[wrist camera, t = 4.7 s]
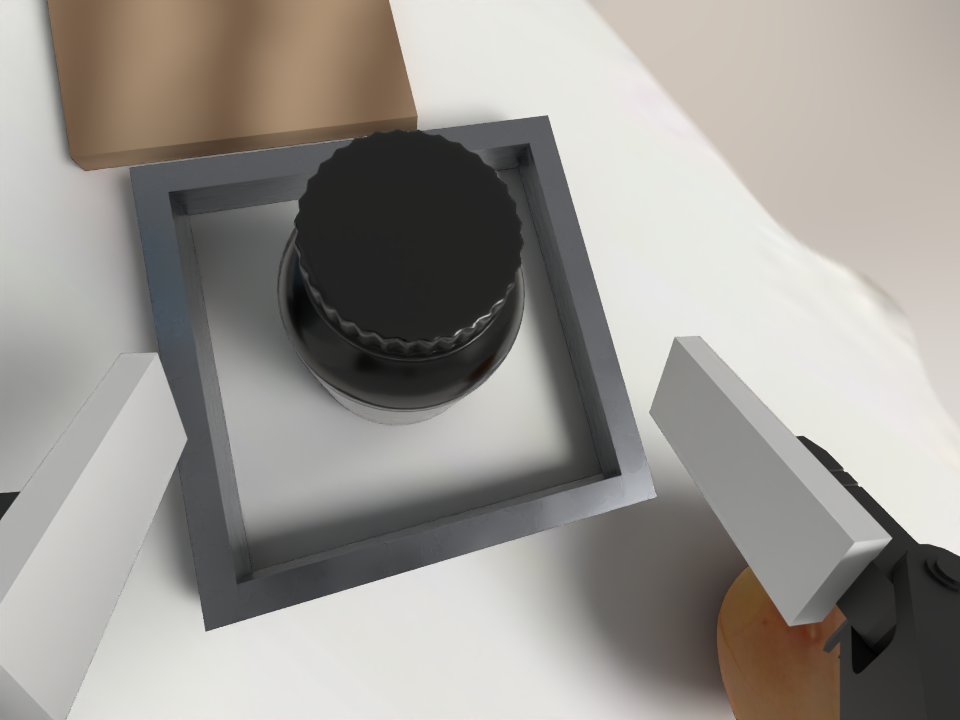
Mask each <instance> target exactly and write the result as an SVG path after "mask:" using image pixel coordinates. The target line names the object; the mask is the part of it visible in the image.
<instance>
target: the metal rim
mask: <svg viewBox="0 0 960 720" xmlns="http://www.w3.org/2000/svg"><path fill="white" fill-rule="evenodd" d="M423 132H425V133H427V134H429V135H434V134H439V135H441V136H443V137H445V138H446V139H447V140H449V141H452V142H459V143H461V144H462V145H463V146H464V147H465V148H466V149H467V150H468V151H471V152H474V153H477V154H478V155H479V156H480V157H481V159H482V160H483V162H484V163H485V164H487V165H489V166H491V167H492V168H494V170H495V171H497V170H504V169H511V168H518V167H519V170H520V174H521V177H522V181H523V185H524V188H525V192H526V196H527V199H528V203H529V207H530V210H531V214H532V218H533V221H534V225H535V228H536V232H537V236H538V239H539V243H540V247H541V250H542V254H543V258H544V261H545V265H546V269H547V272H548V276H549V280H550V283H551V287H552V291H553V294H554V298H555V302H556V305H557V309H558V312H559V316H560V320H561V323H562V327H563V331H564V334H565V338H566V342H567V345H568V349H569V353H570V356H571V360H572V364H573V367H574V371H575V375H576V378H577V382H578V386H579V389H580V393H581V396H582V400H583V404H584V407H585V411H586V415H587V418H588V422H589V426H590V429H591V433H592V437H593V440H594V444H595V448H596V451H597V455H598V459H599V462H600V466H601V470H602V473H601V474H597V475H594V476H590V477H587V478H583V479H580V480H576V481H572V482H569V483H565V484H562V485H558V486H555V487H551V488H548V489H544V490H540V491H537V492H533V493H530V494H526V495H523V496H519V497H516V498H512V499H508V500H505V501H501V502H498V503H494V504H491V505H487V506H484V507H480V508H476V509H473V510H469V511H466V512H462V513H459V514H455V515H452V516H448V517H444V518H441V519H437V520H434V521H430V522H427V523H423V524H420V525H416V526H412V527H409V528H405V529H402V530H398V531H395V532H391V533H388V534H384V535H380V536H377V537H373V538H370V539H366V540H363V541H359V542H356V543H352V544H348V545H345V546H341V547H338V548H334V549H331V550H327V551H323V552H320V553H316V554H313V555H309V556H306V557H302V558H299V559H295V560H291V561H288V562H284V563H281V564H277V565H274V566H270V567H267V568H263V569H259V570H256V571H252V568H251V562H250V557H249V551H248V545H247V540H246V534H245V529H244V523H243V517H242V512H241V506H240V501H239V495H238V489H237V484H236V478H235V473H234V467H233V461H232V456H231V450H230V445H229V439H228V433H227V428H226V422H225V417H224V411H223V405H222V400H221V394H220V389H219V383H218V377H217V372H216V366H215V361H214V355H213V349H212V344H211V338H210V333H209V327H208V321H207V316H206V310H205V305H204V299H203V293H202V288H201V282H200V277H199V271H198V265H197V260H196V254H195V249H194V243H193V237H192V232H191V226H190V221H189V215H194V214H201V213H207V212H214V211H221V210H228V209H235V208H242V207H249V206H256V205H263V204H270V203H276V202H283V201H290V200H297V199H300V197H301V196H302V195H303V194H304V193H305V192H306V189H307V181H308V179H310V178H311V177H312V176H314V175H315V174H316V173H317V171H318V168H319V165H320V163H322V162H323V161H325V160H327V159H329V158H331V157H332V155H333V153H334V152H335V150H336V149H338V148H341V147H345V146H348V145H349V144H350V142H351V141H352V140H347V141H339V142H331V143H323V144H315V145H307V146H299V147H291V148H283V149H275V150H267V151H259V152H251V153H243V154H235V155H227V156H219V157H211V158H203V159H195V160H187V161H179V162H171V163H163V164H155V165H147V166H139V167H131V168H130V174H131V181H132V187H133V193H134V199H135V205H136V211H137V217H138V223H139V229H140V235H141V241H142V247H143V254H144V260H145V266H146V272H147V278H148V284H149V290H150V296H151V302H152V308H153V314H154V320H155V327H156V333H157V339H158V345H159V351H160V357H161V363H162V367H163V370H164V373H165V376H166V379H167V381H168V384H169V387H170V390H171V393H172V396H173V399H174V402H175V404H176V407H177V410H178V413H179V416H180V419H181V422H182V425H183V427H184V430H185V433H186V436H187V442H186V444H185V446H184V449H183V451H182V453H181V455H180V458H179V460H178V467H179V473H180V479H181V485H182V491H183V497H184V503H185V509H186V515H187V521H188V527H189V533H190V540H191V546H192V552H193V558H194V564H195V570H196V576H197V582H198V588H199V594H200V600H201V606H202V613H203V619H204V625H205V631H209V630H212V629H216V628H219V627H223V626H226V625H229V624H233V623H236V622H239V621H243V620H246V619H249V618H253V617H256V616H259V615H263V614H266V613H269V612H273V611H276V610H280V609H283V608H286V607H290V606H293V605H296V604H300V603H303V602H306V601H310V600H313V599H316V598H320V597H323V596H326V595H330V594H333V593H337V592H340V591H343V590H347V589H350V588H353V587H357V586H360V585H363V584H367V583H370V582H373V581H377V580H380V579H383V578H387V577H390V576H393V575H397V574H400V573H404V572H407V571H410V570H414V569H417V568H420V567H424V566H427V565H430V564H434V563H437V562H440V561H444V560H447V559H450V558H454V557H457V556H461V555H464V554H467V553H471V552H474V551H477V550H481V549H484V548H487V547H491V546H494V545H497V544H501V543H504V542H507V541H511V540H514V539H518V538H521V537H524V536H528V535H531V534H534V533H538V532H541V531H544V530H548V529H551V528H554V527H558V526H561V525H564V524H568V523H571V522H575V521H578V520H581V519H585V518H588V517H591V516H595V515H598V514H601V513H605V512H608V511H611V510H615V509H618V508H621V507H625V506H628V505H632V504H635V503H638V502H642V501H645V500H648V499H652V498H655V497H657V495H656V492H655V488H654V485H653V481H652V478H651V474H650V471H649V467H648V464H647V460H646V457H645V453H644V450H643V446H642V443H641V439H640V436H639V432H638V429H637V425H636V422H635V418H634V415H633V411H632V408H631V404H630V401H629V397H628V394H627V390H626V387H625V383H624V380H623V376H622V373H621V369H620V366H619V362H618V359H617V355H616V352H615V348H614V345H613V341H612V338H611V334H610V331H609V327H608V324H607V320H606V317H605V313H604V310H603V307H602V303H601V300H600V296H599V293H598V289H597V286H596V282H595V279H594V275H593V272H592V268H591V265H590V261H589V258H588V254H587V251H586V247H585V244H584V240H583V237H582V233H581V230H580V226H579V223H578V219H577V216H576V212H575V209H574V205H573V202H572V198H571V195H570V191H569V188H568V184H567V181H566V177H565V174H564V170H563V167H562V163H561V160H560V156H559V153H558V149H557V146H556V142H555V139H554V135H553V132H552V128H551V125H550V121H549V118H548V115H547V116H539V117H531V118H523V119H515V120H507V121H499V122H491V123H483V124H475V125H467V126H459V127H451V128H443V129H435V130H427V131H423Z"/></svg>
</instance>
